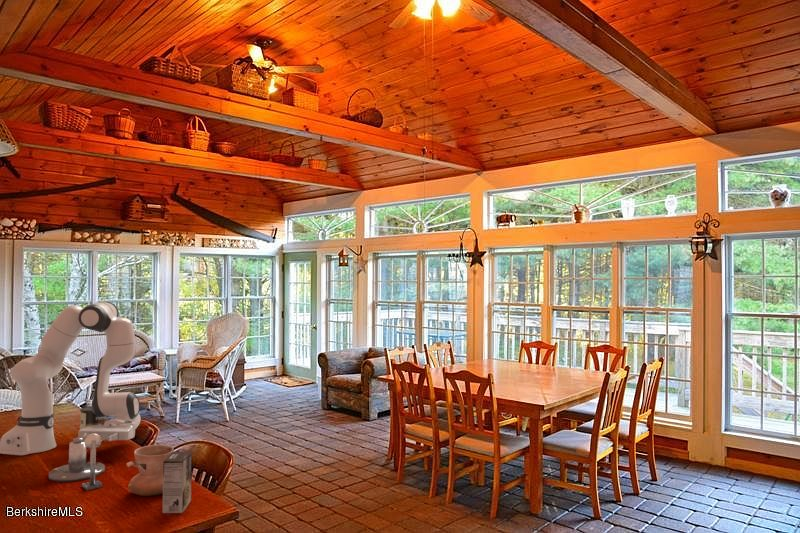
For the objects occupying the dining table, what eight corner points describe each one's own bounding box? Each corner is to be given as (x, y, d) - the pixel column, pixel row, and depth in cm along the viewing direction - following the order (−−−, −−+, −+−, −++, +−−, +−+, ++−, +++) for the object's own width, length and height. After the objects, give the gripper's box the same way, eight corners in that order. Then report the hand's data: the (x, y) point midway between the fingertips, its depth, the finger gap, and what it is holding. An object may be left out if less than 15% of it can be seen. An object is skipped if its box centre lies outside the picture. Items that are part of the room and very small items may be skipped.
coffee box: (171, 501, 181) (172, 451, 181) (191, 501, 181) (192, 451, 182) (161, 513, 172) (162, 460, 172) (182, 513, 172) (184, 460, 172)
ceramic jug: (130, 504, 178) (132, 459, 179) (119, 490, 189) (121, 448, 190) (188, 492, 189) (189, 450, 190) (174, 480, 201) (176, 440, 201)
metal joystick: (102, 486, 193) (103, 434, 193) (86, 490, 189) (87, 437, 190) (98, 482, 196) (99, 431, 197) (82, 486, 193) (83, 434, 193)
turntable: (36, 481, 197) (37, 477, 197) (67, 464, 215) (68, 460, 215) (87, 482, 197) (87, 478, 197) (114, 465, 215) (114, 461, 215)
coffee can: (111, 437, 252) (112, 406, 253) (94, 443, 242) (95, 411, 243) (91, 435, 254) (92, 404, 255) (74, 442, 244) (74, 409, 245)
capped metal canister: (65, 472, 203) (66, 440, 204) (74, 467, 209) (75, 436, 209) (80, 472, 203) (81, 440, 204) (88, 467, 209) (89, 436, 209)
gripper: (89, 421, 232) (69, 430, 219) (138, 422, 232) (121, 431, 218) (89, 436, 232) (69, 446, 218) (138, 437, 232) (121, 447, 218)
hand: (95, 438), depth 218 cm, fingers open, 8 cm apart
